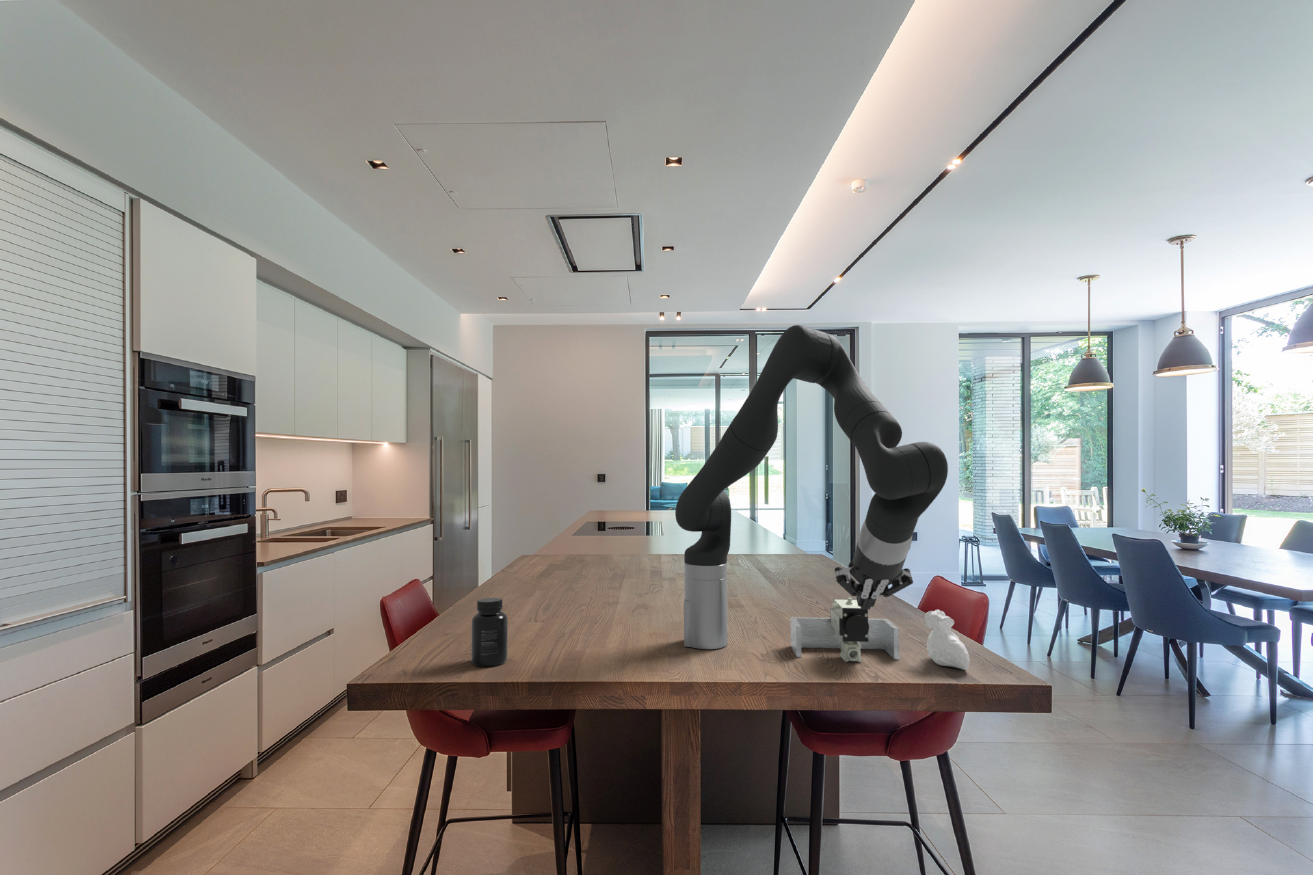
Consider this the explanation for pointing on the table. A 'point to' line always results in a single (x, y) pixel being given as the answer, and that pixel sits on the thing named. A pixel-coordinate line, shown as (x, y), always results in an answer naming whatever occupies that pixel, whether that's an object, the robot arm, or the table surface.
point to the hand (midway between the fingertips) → (864, 604)
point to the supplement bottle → (489, 633)
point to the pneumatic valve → (850, 627)
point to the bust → (945, 641)
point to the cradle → (824, 636)
